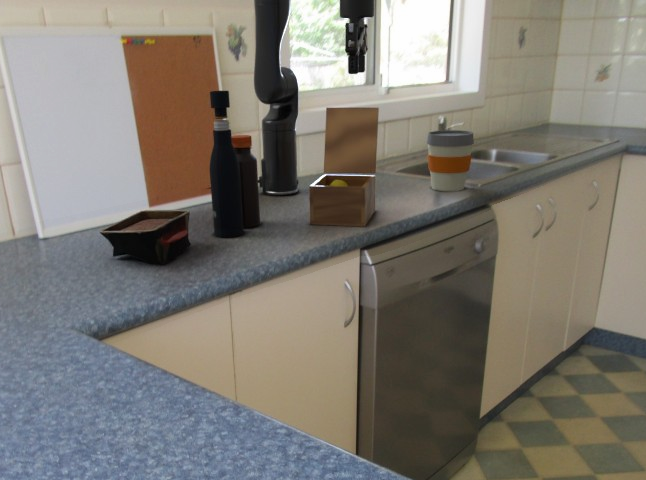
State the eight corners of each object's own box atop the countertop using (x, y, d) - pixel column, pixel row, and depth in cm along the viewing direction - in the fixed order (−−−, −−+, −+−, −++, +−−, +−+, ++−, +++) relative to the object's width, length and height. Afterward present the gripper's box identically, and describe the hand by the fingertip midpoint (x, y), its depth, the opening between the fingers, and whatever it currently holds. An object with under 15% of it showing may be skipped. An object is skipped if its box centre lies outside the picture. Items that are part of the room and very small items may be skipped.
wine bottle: (249, 231, 147) (240, 90, 136) (234, 238, 142) (224, 92, 131) (224, 229, 150) (214, 90, 139) (208, 236, 144) (197, 92, 134)
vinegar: (235, 221, 156) (230, 134, 149) (263, 221, 155) (259, 134, 148) (226, 228, 150) (220, 138, 143) (255, 229, 149) (250, 138, 142)
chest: (364, 226, 148) (364, 187, 145) (310, 224, 151) (309, 186, 148) (374, 211, 162) (375, 175, 158) (324, 209, 165) (323, 174, 161)
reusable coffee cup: (452, 194, 177) (455, 137, 172) (415, 188, 186) (417, 133, 181) (480, 187, 185) (483, 132, 179) (443, 181, 194) (446, 129, 188)
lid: (378, 107, 156) (381, 111, 161) (326, 107, 159) (330, 111, 164) (375, 173, 158) (378, 175, 163) (323, 172, 161) (328, 174, 166)
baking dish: (98, 271, 130) (89, 224, 124) (148, 234, 144) (141, 191, 139) (162, 283, 125) (155, 235, 120) (207, 244, 139) (202, 200, 134)
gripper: (368, -9, 137) (368, 74, 143) (378, -5, 150) (378, 71, 156) (333, -7, 139) (333, 75, 145) (346, -3, 152) (346, 72, 157)
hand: (356, 73), depth 150 cm, fingers open, 8 cm apart
